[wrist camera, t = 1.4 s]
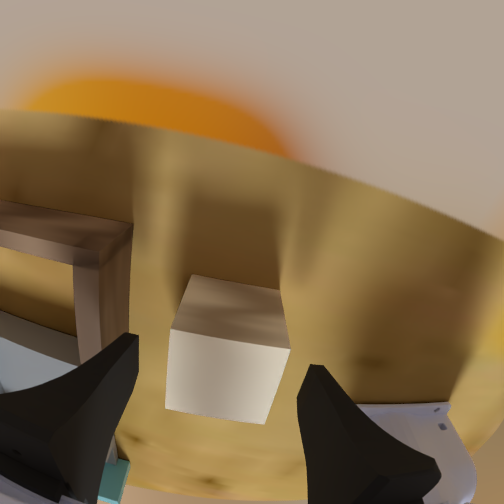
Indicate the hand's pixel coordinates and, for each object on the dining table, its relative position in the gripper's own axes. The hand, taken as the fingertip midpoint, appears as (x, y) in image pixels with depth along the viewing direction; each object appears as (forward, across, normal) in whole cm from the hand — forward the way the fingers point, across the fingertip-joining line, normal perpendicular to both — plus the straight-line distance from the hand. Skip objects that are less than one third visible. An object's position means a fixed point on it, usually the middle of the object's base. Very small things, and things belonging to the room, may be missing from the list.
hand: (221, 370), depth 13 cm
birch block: (+4, 0, 0) cm, 4 cm away
